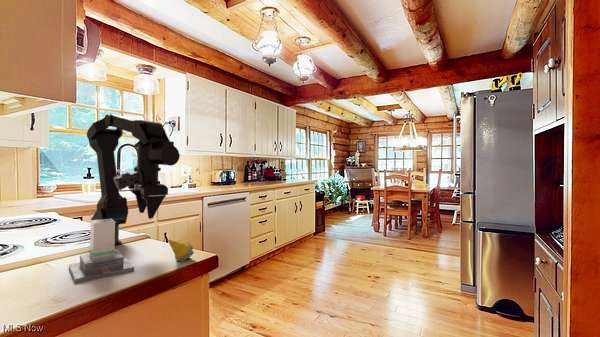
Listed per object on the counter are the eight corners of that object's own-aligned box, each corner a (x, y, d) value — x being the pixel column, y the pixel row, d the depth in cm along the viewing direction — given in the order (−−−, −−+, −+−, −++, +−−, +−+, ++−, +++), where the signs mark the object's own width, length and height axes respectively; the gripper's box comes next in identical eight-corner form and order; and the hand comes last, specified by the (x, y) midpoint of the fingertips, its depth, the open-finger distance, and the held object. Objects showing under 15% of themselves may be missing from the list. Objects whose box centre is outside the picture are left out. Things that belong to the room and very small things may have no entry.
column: (89, 255, 74) (90, 220, 74) (110, 251, 77) (111, 218, 77) (92, 260, 71) (93, 223, 70) (114, 256, 74) (115, 221, 74)
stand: (69, 268, 74) (69, 254, 74) (122, 258, 82) (122, 246, 82) (75, 283, 65) (75, 268, 65) (134, 270, 74) (134, 257, 74)
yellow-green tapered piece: (197, 262, 82) (173, 244, 76) (181, 268, 83) (157, 250, 77) (200, 247, 86) (178, 228, 80) (185, 253, 87) (162, 235, 82)
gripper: (110, 161, 87) (108, 212, 87) (124, 164, 73) (121, 225, 74) (150, 162, 95) (148, 209, 95) (169, 165, 81) (167, 220, 81)
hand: (146, 215), depth 86 cm, fingers open, 9 cm apart
